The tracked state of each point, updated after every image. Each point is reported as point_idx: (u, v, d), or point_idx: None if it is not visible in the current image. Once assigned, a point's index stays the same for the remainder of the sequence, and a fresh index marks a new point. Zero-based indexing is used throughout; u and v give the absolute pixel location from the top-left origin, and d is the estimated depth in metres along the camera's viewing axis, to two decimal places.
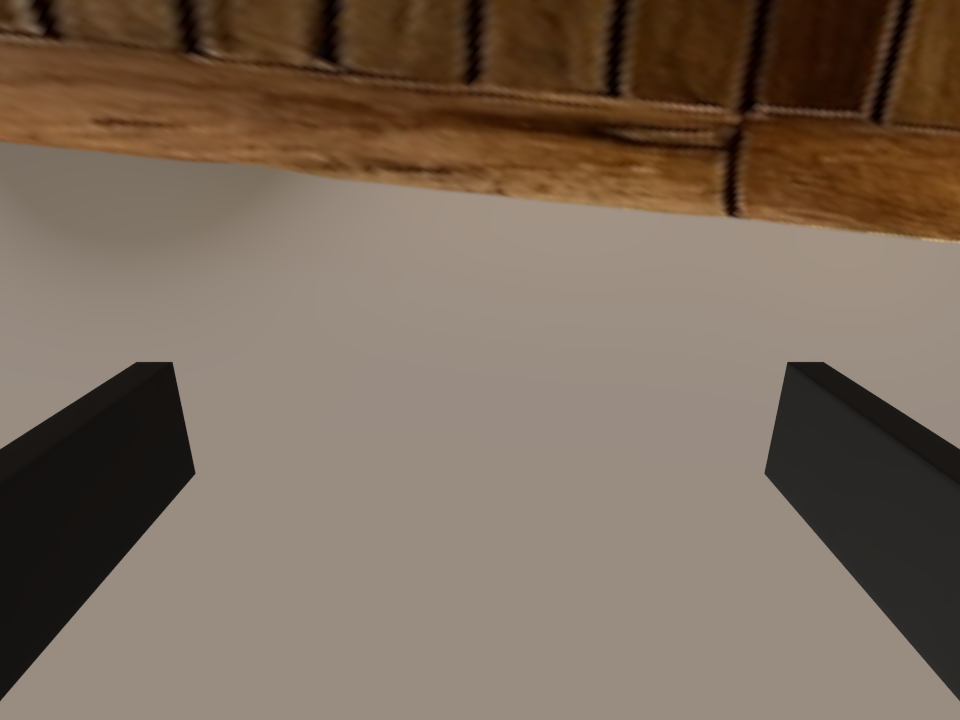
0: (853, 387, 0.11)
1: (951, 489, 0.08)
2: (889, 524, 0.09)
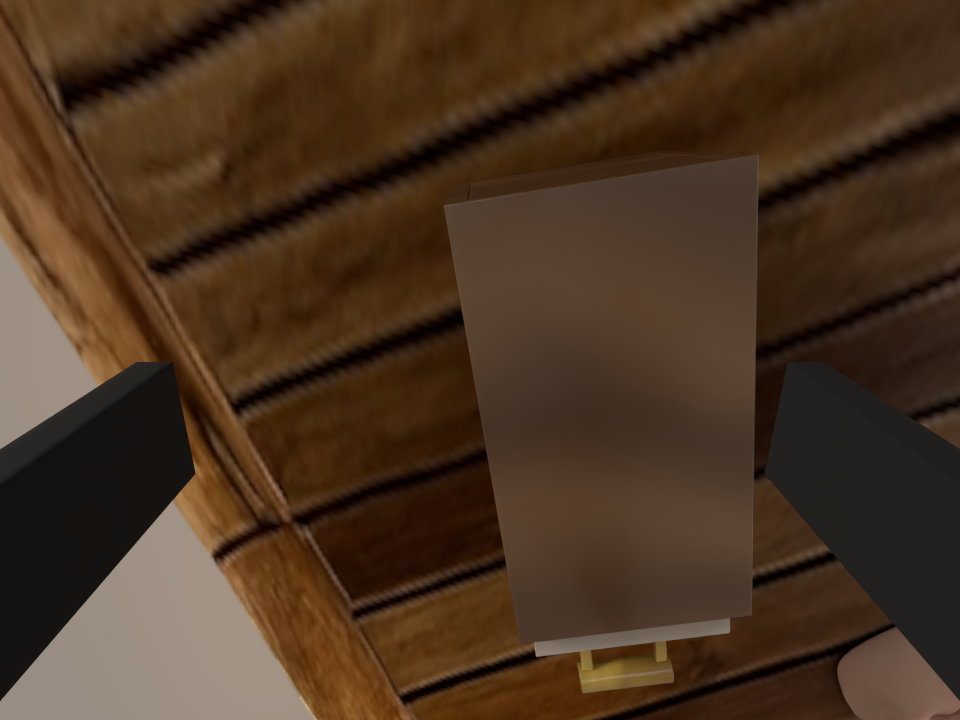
0: (853, 387, 0.11)
1: (951, 489, 0.08)
2: (889, 524, 0.09)
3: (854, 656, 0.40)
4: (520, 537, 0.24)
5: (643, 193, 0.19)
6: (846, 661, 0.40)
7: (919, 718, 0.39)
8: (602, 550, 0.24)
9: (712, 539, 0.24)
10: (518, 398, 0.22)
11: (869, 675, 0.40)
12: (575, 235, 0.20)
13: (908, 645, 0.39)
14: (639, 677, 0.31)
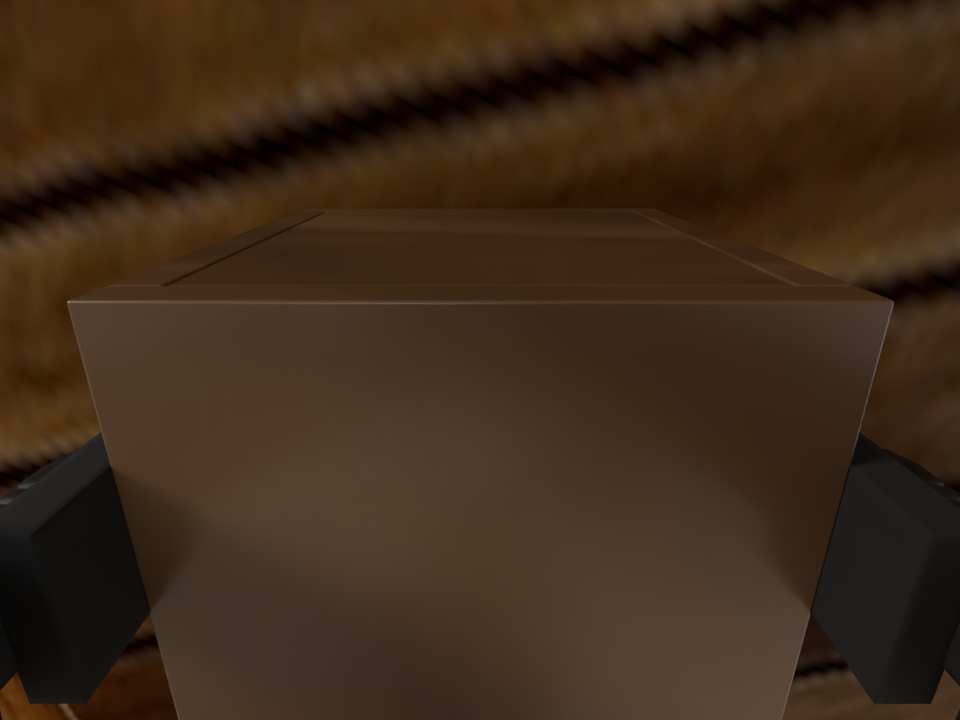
0: None
1: None
2: None
3: None
4: None
5: (590, 350, 0.07)
6: None
7: None
8: None
9: None
10: (266, 719, 0.10)
11: None
12: (410, 420, 0.08)
13: None
14: None
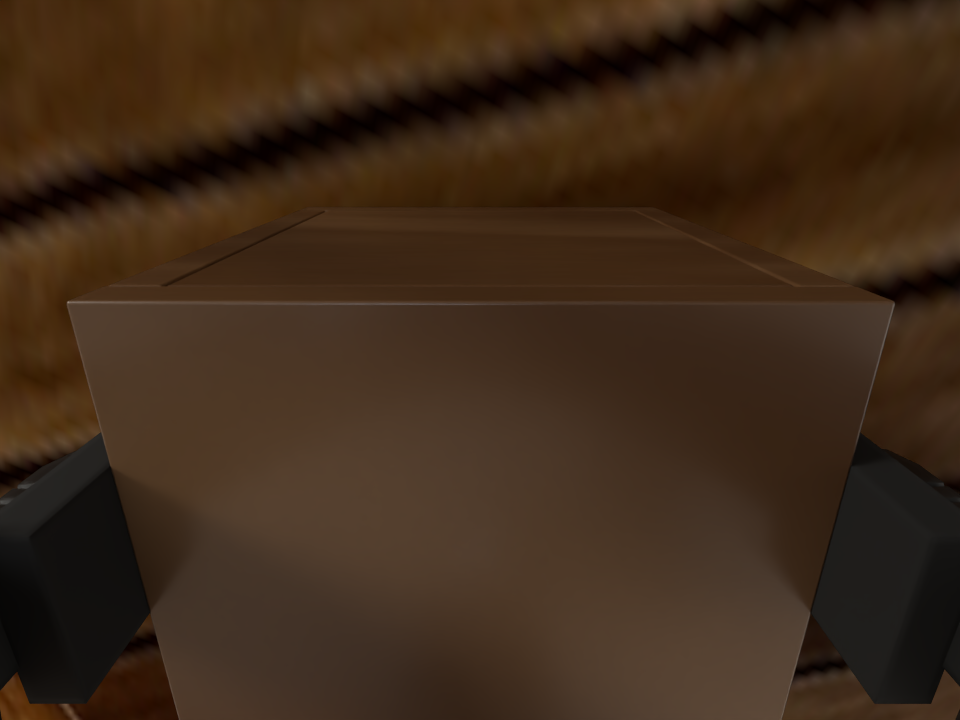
0: None
1: None
2: None
3: None
4: None
5: (590, 351, 0.07)
6: None
7: None
8: None
9: None
10: (266, 719, 0.10)
11: None
12: (410, 421, 0.08)
13: None
14: None
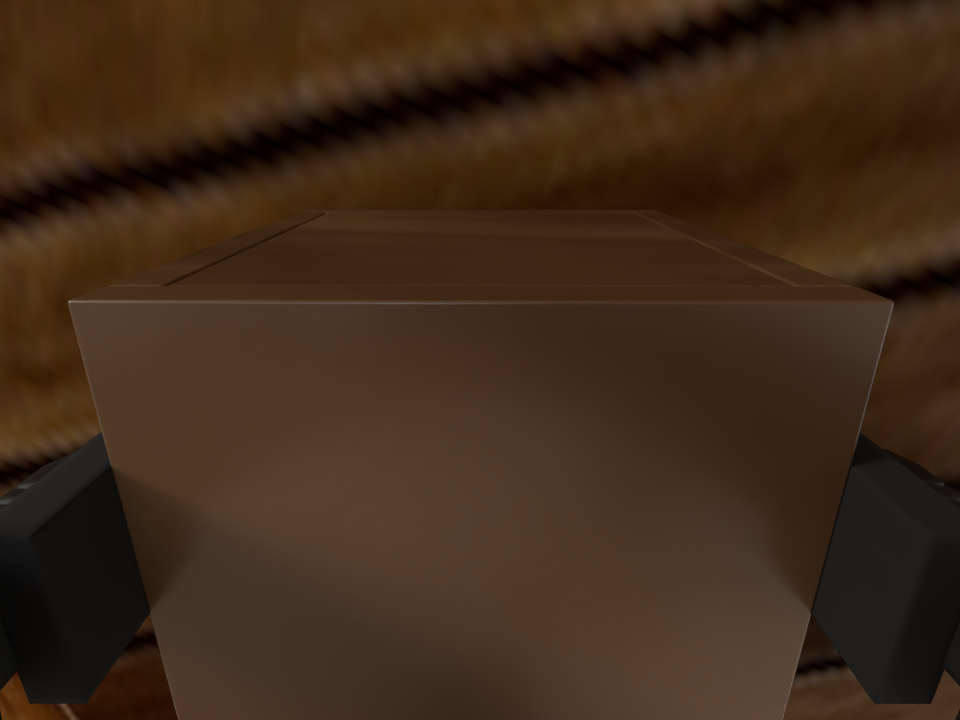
0: None
1: None
2: None
3: None
4: None
5: (589, 350, 0.07)
6: None
7: None
8: None
9: None
10: None
11: None
12: (410, 420, 0.08)
13: None
14: None
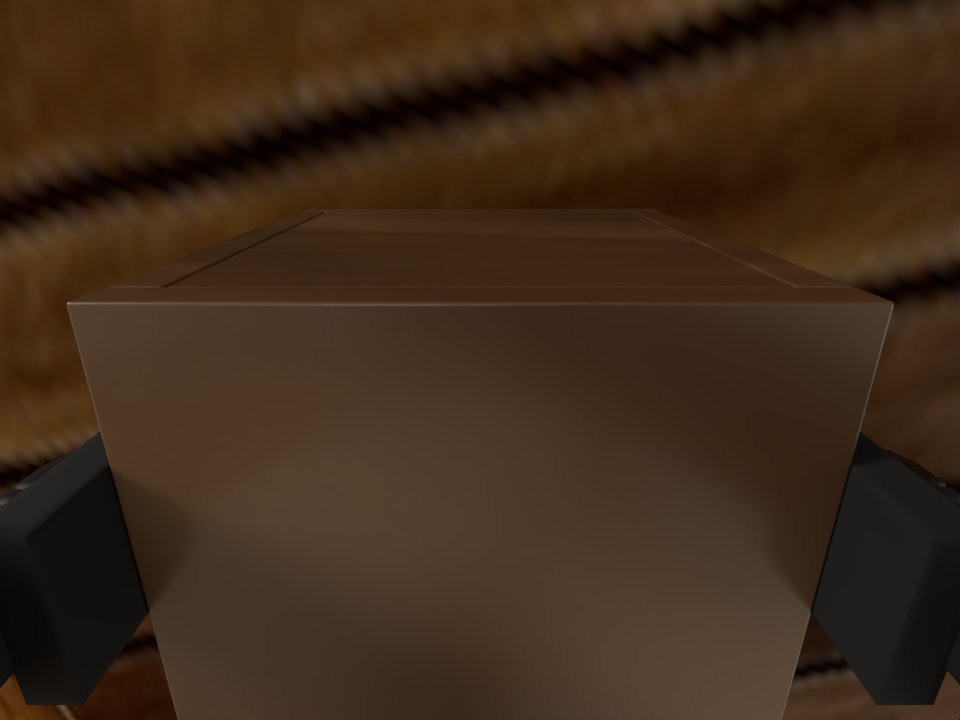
0: None
1: None
2: None
3: None
4: None
5: (590, 352, 0.07)
6: None
7: None
8: None
9: None
10: None
11: None
12: (410, 422, 0.08)
13: None
14: None
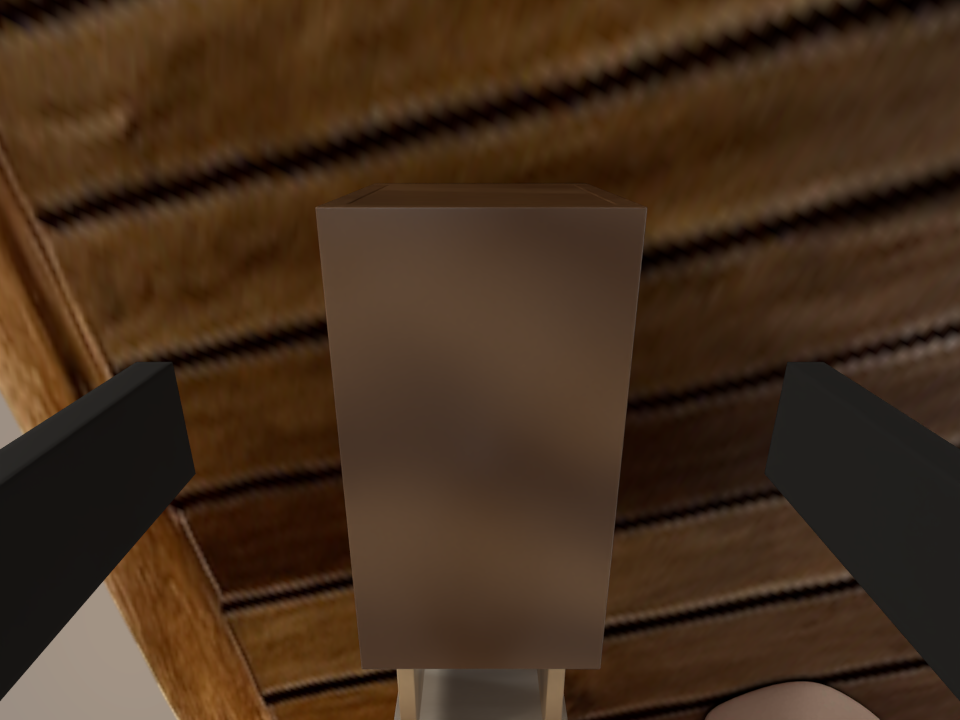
0: (853, 387, 0.11)
1: (951, 489, 0.08)
2: (890, 524, 0.09)
3: (721, 711, 0.40)
4: (370, 561, 0.23)
5: (525, 228, 0.18)
6: (713, 715, 0.40)
7: None
8: (454, 585, 0.23)
9: (567, 588, 0.24)
10: (379, 419, 0.21)
11: None
12: (451, 260, 0.19)
13: (774, 707, 0.39)
14: None
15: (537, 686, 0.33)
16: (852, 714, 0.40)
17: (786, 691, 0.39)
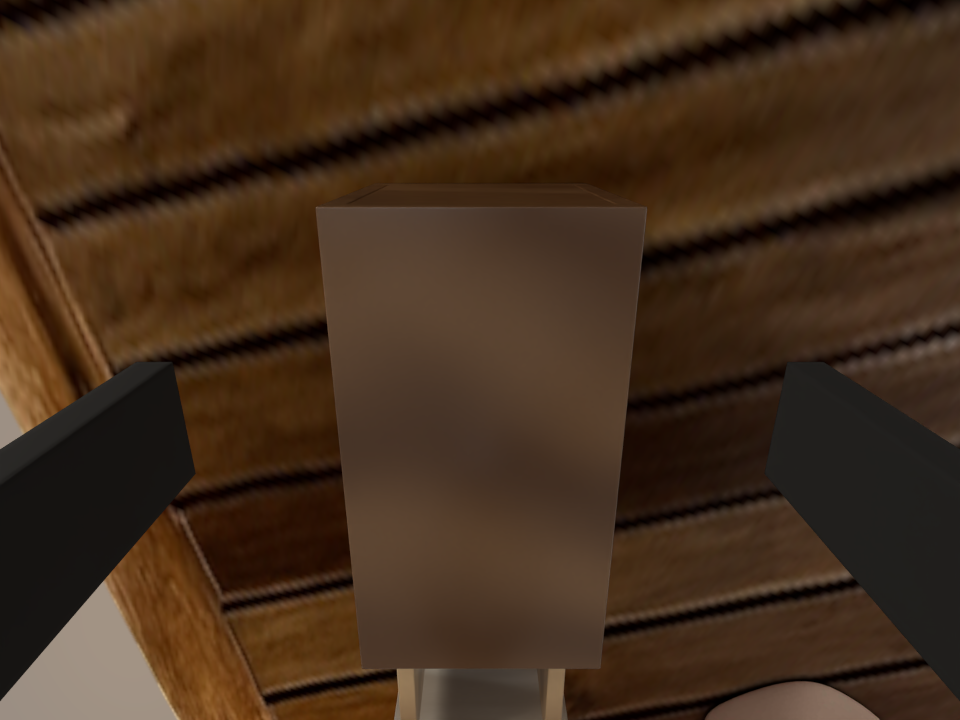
0: (853, 387, 0.11)
1: (951, 489, 0.08)
2: (890, 524, 0.09)
3: (721, 711, 0.40)
4: (370, 560, 0.23)
5: (525, 228, 0.18)
6: (713, 715, 0.40)
7: None
8: (454, 584, 0.23)
9: (567, 588, 0.24)
10: (379, 418, 0.21)
11: None
12: (452, 260, 0.19)
13: (774, 707, 0.39)
14: None
15: (537, 686, 0.33)
16: (852, 714, 0.40)
17: (786, 691, 0.39)
